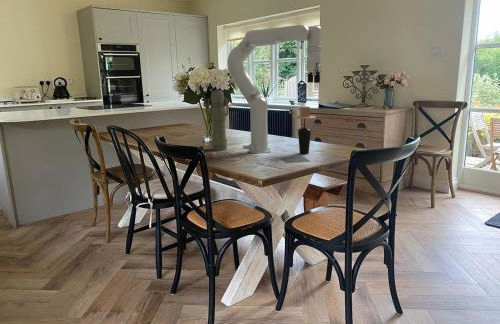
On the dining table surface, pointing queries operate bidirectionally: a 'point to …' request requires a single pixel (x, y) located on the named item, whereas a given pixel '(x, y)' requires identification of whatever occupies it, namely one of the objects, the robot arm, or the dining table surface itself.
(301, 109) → the lid
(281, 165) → the dining table surface
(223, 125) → the thermos
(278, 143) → the dining table surface
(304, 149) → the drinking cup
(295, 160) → the mat
